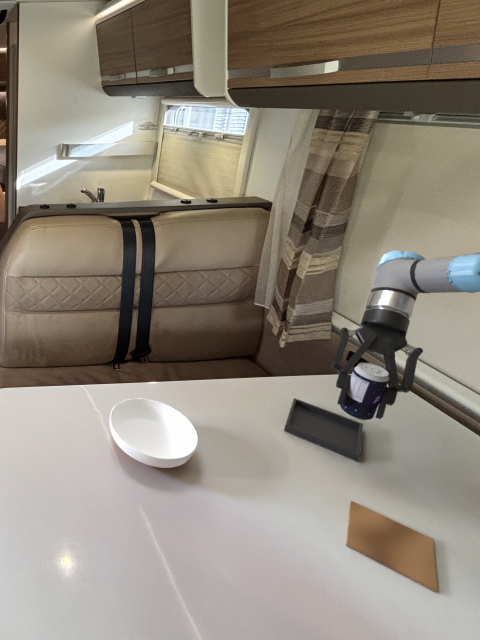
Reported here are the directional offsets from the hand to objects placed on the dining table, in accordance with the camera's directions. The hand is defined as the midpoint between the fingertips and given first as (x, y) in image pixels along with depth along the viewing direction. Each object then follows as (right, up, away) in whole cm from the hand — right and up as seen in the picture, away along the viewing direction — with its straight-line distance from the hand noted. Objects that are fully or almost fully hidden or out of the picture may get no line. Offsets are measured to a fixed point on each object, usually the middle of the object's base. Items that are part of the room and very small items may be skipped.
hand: (359, 409), depth 91 cm
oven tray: (+5, -11, +16) cm, 20 cm away
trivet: (-4, -22, -10) cm, 24 cm away
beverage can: (+3, -2, +4) cm, 5 cm away
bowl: (-40, -13, +12) cm, 44 cm away
